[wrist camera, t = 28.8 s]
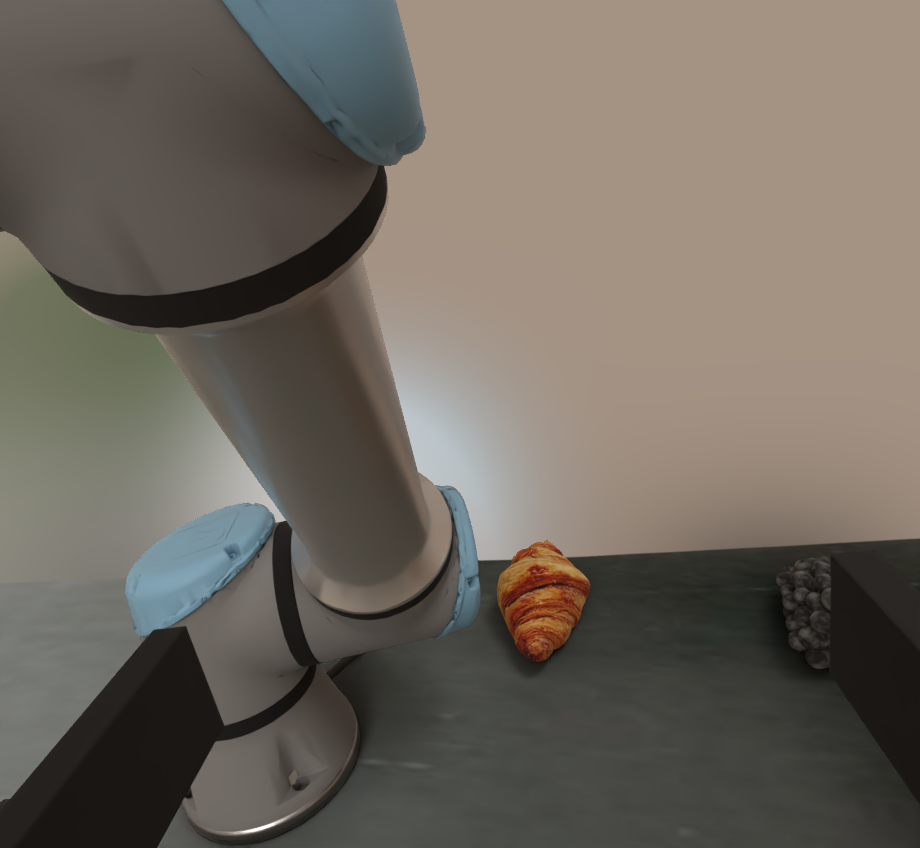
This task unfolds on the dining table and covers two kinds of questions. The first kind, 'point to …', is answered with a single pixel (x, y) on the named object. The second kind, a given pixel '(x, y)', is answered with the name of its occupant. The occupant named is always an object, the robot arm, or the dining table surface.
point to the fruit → (808, 608)
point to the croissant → (541, 599)
